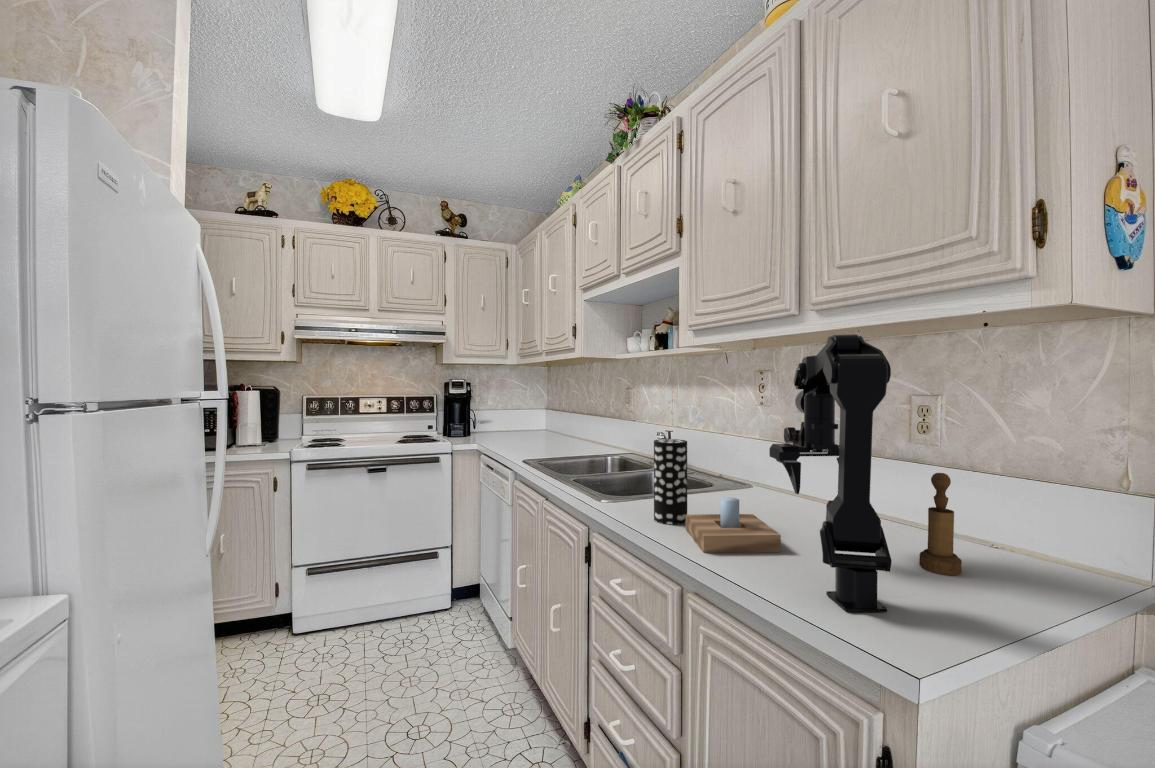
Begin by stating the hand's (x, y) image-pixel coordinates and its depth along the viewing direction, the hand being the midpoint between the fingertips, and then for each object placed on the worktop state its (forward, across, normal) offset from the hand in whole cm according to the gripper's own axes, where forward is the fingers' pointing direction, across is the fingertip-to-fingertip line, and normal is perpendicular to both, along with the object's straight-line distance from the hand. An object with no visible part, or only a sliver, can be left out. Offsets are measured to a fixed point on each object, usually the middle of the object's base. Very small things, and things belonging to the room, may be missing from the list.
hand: (819, 493), depth 105 cm
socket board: (+12, +16, -8) cm, 22 cm away
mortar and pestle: (+12, -18, +10) cm, 24 cm away
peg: (+12, +16, -8) cm, 22 cm away
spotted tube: (+12, +26, -24) cm, 37 cm away
